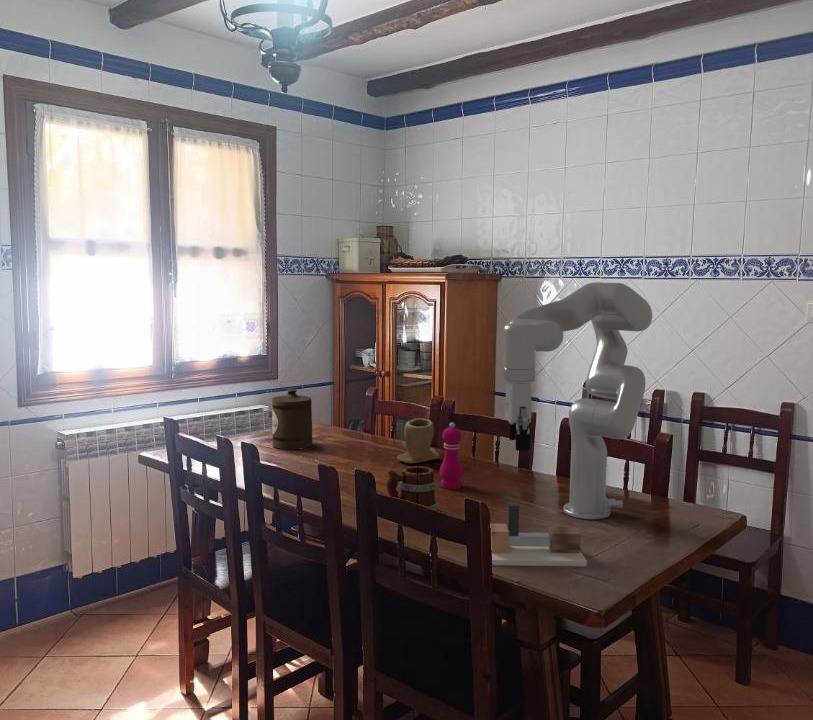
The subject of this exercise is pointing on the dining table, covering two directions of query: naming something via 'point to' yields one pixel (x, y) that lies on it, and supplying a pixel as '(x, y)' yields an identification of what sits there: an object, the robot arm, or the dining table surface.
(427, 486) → the mug
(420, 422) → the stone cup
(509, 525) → the grey piece
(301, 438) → the wooden container
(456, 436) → the pepper mill
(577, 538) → the walnut sleeve
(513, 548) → the cream board
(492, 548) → the terracotta socket
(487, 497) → the dining table surface
